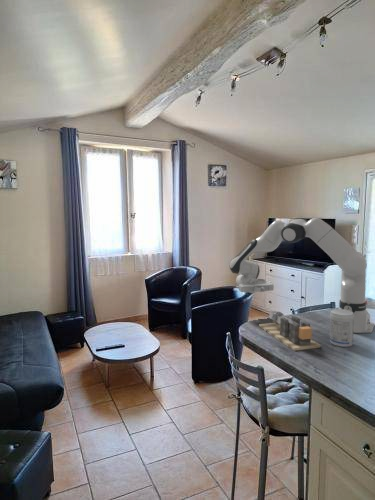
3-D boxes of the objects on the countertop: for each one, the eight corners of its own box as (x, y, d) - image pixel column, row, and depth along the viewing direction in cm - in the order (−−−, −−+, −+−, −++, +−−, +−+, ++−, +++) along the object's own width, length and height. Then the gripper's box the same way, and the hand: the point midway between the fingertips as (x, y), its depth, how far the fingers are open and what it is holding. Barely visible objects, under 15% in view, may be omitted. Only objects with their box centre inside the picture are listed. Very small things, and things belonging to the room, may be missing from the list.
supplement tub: (337, 338, 154) (338, 307, 152) (357, 344, 146) (358, 312, 144) (325, 342, 148) (326, 311, 147) (345, 349, 140) (346, 316, 139)
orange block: (298, 337, 143) (298, 327, 143) (307, 336, 144) (308, 326, 144) (302, 339, 141) (302, 329, 140) (311, 338, 142) (311, 328, 141)
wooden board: (259, 326, 171) (259, 308, 171) (281, 324, 175) (281, 306, 174) (294, 350, 140) (294, 329, 139) (320, 347, 143) (321, 326, 142)
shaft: (266, 320, 170) (267, 309, 169) (277, 319, 171) (277, 308, 171) (289, 334, 149) (290, 322, 148) (301, 333, 150) (301, 320, 150)
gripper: (234, 280, 191) (244, 285, 177) (266, 279, 196) (278, 283, 182) (234, 291, 191) (244, 297, 178) (266, 289, 196) (278, 294, 183)
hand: (262, 290), depth 180 cm, fingers closed
